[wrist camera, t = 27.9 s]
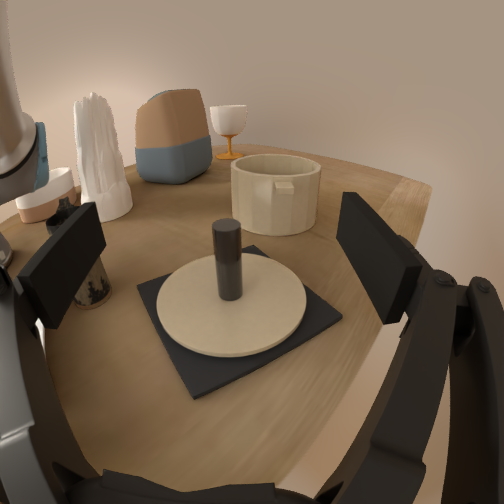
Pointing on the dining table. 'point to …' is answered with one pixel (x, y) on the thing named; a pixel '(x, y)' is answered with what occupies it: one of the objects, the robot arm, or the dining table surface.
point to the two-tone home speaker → (172, 137)
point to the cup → (229, 125)
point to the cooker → (275, 193)
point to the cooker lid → (231, 299)
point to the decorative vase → (100, 159)
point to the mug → (96, 282)
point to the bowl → (47, 196)
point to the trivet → (232, 368)
